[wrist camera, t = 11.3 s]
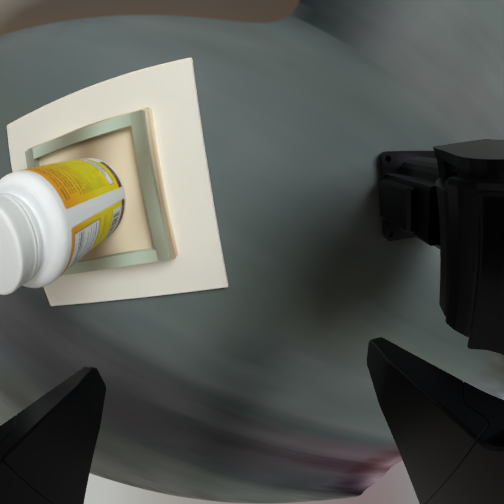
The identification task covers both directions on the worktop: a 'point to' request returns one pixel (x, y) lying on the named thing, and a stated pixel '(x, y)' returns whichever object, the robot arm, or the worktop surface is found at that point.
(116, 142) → the square wooden tray
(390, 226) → the robot arm
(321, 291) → the worktop surface
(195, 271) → the cream square board
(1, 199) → the supplement bottle
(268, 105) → the worktop surface
